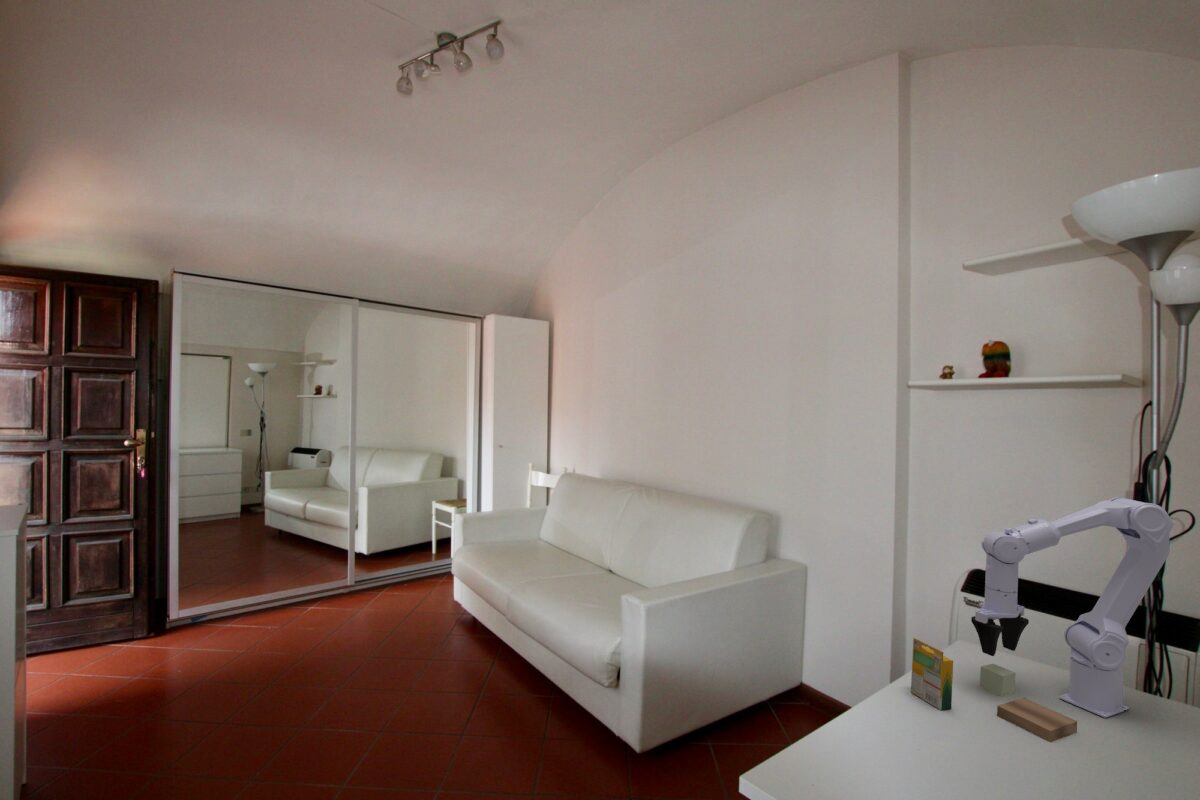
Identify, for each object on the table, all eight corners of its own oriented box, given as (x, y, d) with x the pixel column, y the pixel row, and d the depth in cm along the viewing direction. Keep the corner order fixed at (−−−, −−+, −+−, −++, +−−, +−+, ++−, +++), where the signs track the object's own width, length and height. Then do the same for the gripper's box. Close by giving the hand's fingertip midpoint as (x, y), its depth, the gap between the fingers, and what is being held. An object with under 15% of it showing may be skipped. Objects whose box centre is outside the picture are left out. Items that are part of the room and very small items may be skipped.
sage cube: (992, 683, 122) (993, 663, 122) (1014, 693, 118) (1015, 672, 118) (979, 687, 120) (980, 666, 120) (1002, 697, 116) (1002, 676, 116)
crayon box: (952, 709, 110) (954, 651, 110) (940, 711, 109) (943, 652, 109) (921, 690, 117) (923, 636, 117) (910, 692, 116) (912, 637, 116)
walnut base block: (1023, 709, 112) (1024, 697, 112) (1076, 734, 104) (1077, 721, 104) (997, 718, 108) (997, 705, 108) (1049, 744, 100) (1050, 730, 100)
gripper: (1000, 580, 126) (998, 639, 125) (961, 586, 119) (959, 648, 119) (1036, 589, 119) (1033, 652, 119) (996, 596, 113) (994, 662, 113)
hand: (998, 651), depth 119 cm, fingers open, 7 cm apart
